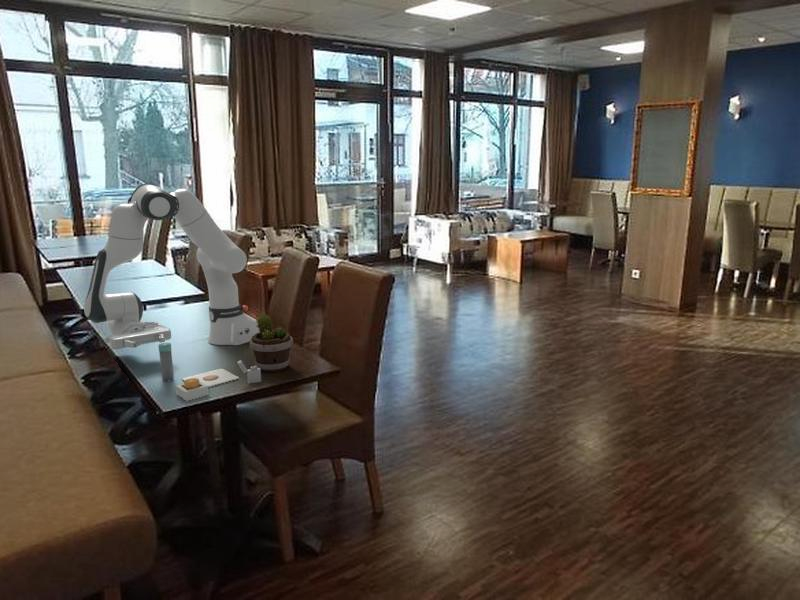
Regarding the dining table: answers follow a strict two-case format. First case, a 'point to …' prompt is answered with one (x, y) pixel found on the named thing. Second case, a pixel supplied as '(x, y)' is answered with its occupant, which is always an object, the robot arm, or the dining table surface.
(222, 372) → the paper pad
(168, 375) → the grey teal bottle
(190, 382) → the button
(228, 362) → the dining table surface
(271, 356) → the flowerpot
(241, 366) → the lighter
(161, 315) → the dining table surface
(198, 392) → the button box
